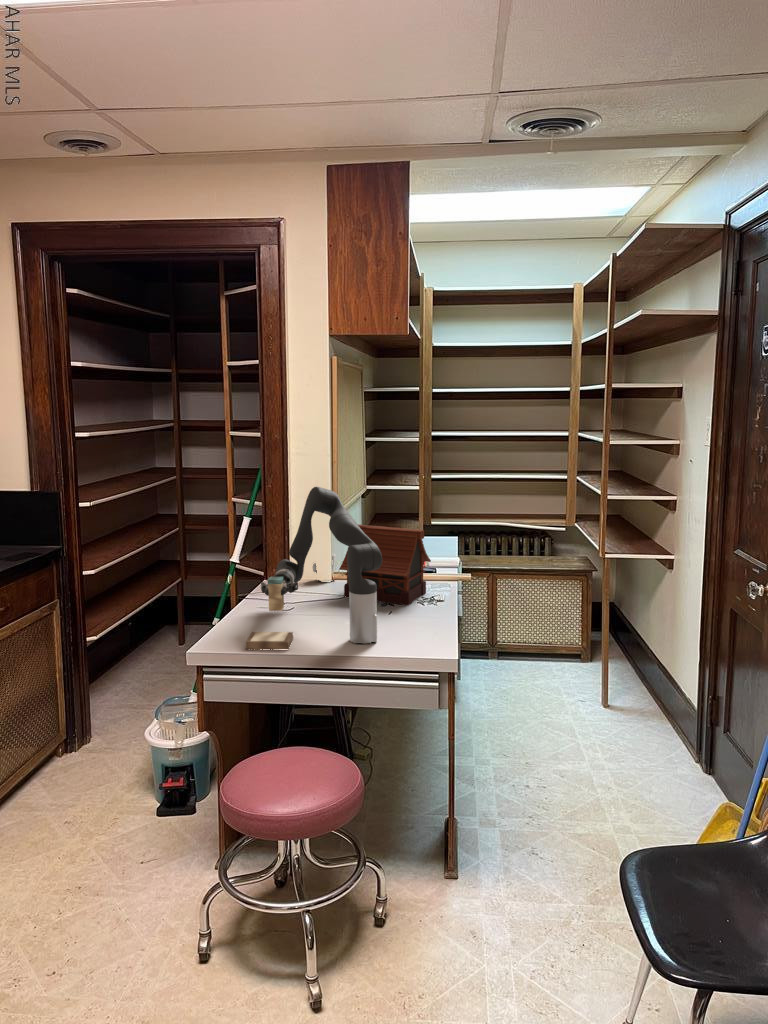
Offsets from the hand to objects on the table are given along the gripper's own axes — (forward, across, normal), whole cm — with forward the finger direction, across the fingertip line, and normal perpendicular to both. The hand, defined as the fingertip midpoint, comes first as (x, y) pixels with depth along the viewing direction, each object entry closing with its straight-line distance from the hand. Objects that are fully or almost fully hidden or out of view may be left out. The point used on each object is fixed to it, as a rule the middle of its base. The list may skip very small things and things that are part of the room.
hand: (274, 592), depth 250 cm
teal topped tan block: (-3, 0, +6) cm, 7 cm away
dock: (+10, 0, +15) cm, 18 cm away
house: (-52, +36, +15) cm, 65 cm away
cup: (-75, +9, +15) cm, 77 cm away
